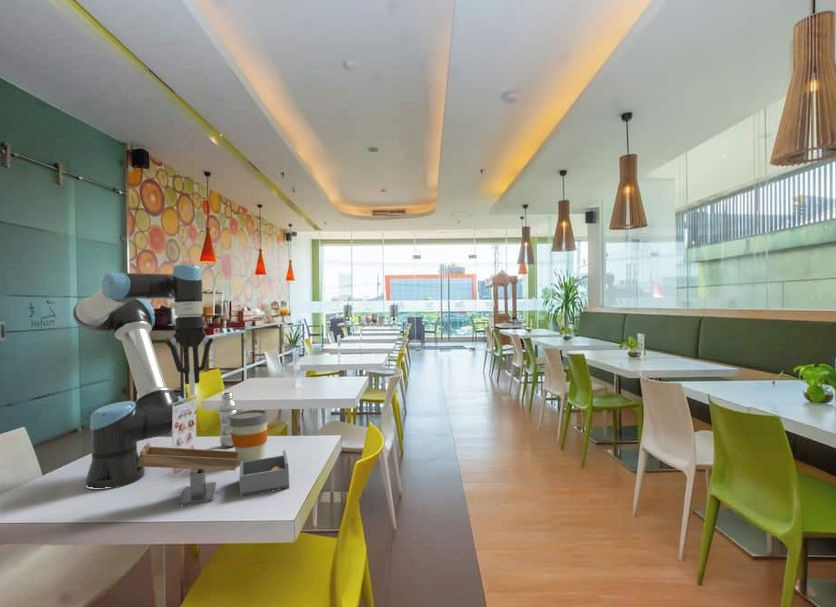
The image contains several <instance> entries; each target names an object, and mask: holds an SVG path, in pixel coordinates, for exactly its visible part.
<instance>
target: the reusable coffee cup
mask: <svg viewBox="0 0 836 607" xmlns="http://www.w3.org/2000/svg"><path fill="white" fill-rule="evenodd" d="M268 421H269V416H268V411H267V410H261V409H255V410H254V409H253V410H250V409H249V410H243V411H239V412H237V413H235V414H233V415H231V416H230V426H231V429H232V432H231V436H232V442H233V446H232V447H234V449H235V450H234V451H238V455H237V462H240V461H242V462H243V461H249V460H256V459H260V458H261V459H263V458H264V457H265V452H266V443H267V441H268V431H269V428H268ZM263 456H264V457H263ZM262 457H263V458H262Z"/></svg>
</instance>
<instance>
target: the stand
mask: <svg viewBox="0 0 836 607" xmlns="http://www.w3.org/2000/svg"><path fill="white" fill-rule="evenodd" d="M193 470H194V469H191V470H190V473H189V486H185V488H184V489H183V492H182V494H181V498H180V501H179V503H178V505H179V506H180V507H182V506H181V505H186V506H189V505H188V504H191V505H195V504H194V503H197V504H201V503H200V502H203V503H207V502H206V501H209V502H213V500H214V495H215V490H216V487H217V482H216V481H215V482H214V481H213V482H208V483H206V469H199V470H198V473H197V474H193Z"/></svg>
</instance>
